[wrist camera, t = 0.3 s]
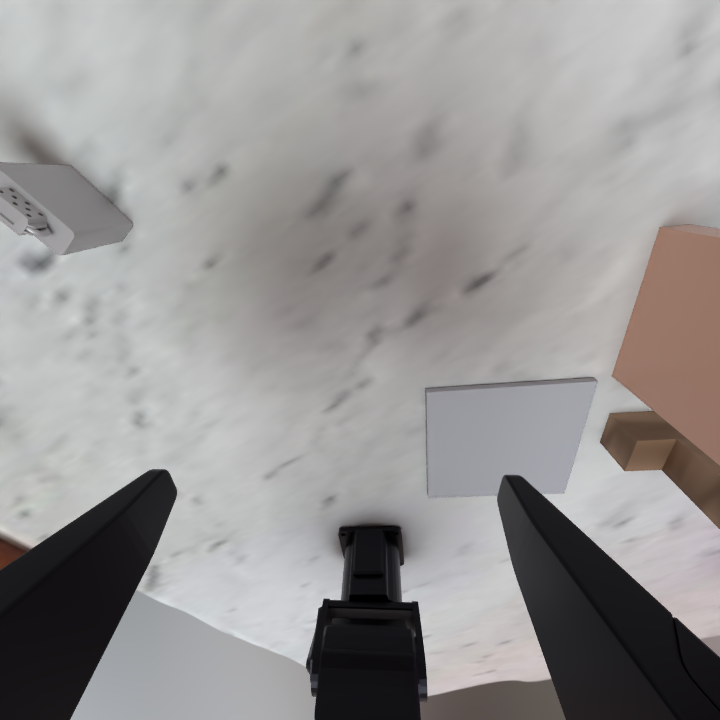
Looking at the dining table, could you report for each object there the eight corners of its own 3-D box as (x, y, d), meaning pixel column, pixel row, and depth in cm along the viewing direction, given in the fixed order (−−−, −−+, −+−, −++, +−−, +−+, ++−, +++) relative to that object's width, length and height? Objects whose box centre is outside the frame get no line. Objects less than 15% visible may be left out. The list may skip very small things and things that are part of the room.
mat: (561, 488, 29) (564, 493, 28) (427, 493, 30) (428, 497, 29) (593, 377, 23) (597, 381, 22) (425, 388, 24) (426, 392, 24)
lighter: (134, 223, 19) (-4, 248, 12) (120, 243, 20) (-19, 277, 13) (14, 113, 17) (-243, 65, 10) (2, 139, 17) (-248, 111, 10)
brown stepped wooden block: (707, 436, 25) (881, 572, 16) (599, 441, 26) (711, 573, 17) (723, 406, 24) (924, 538, 15) (609, 413, 24) (737, 541, 16)
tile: (636, 373, 23) (773, 475, 15) (611, 375, 23) (733, 477, 15) (691, 224, 18) (938, 257, 10) (659, 227, 18) (876, 263, 10)
